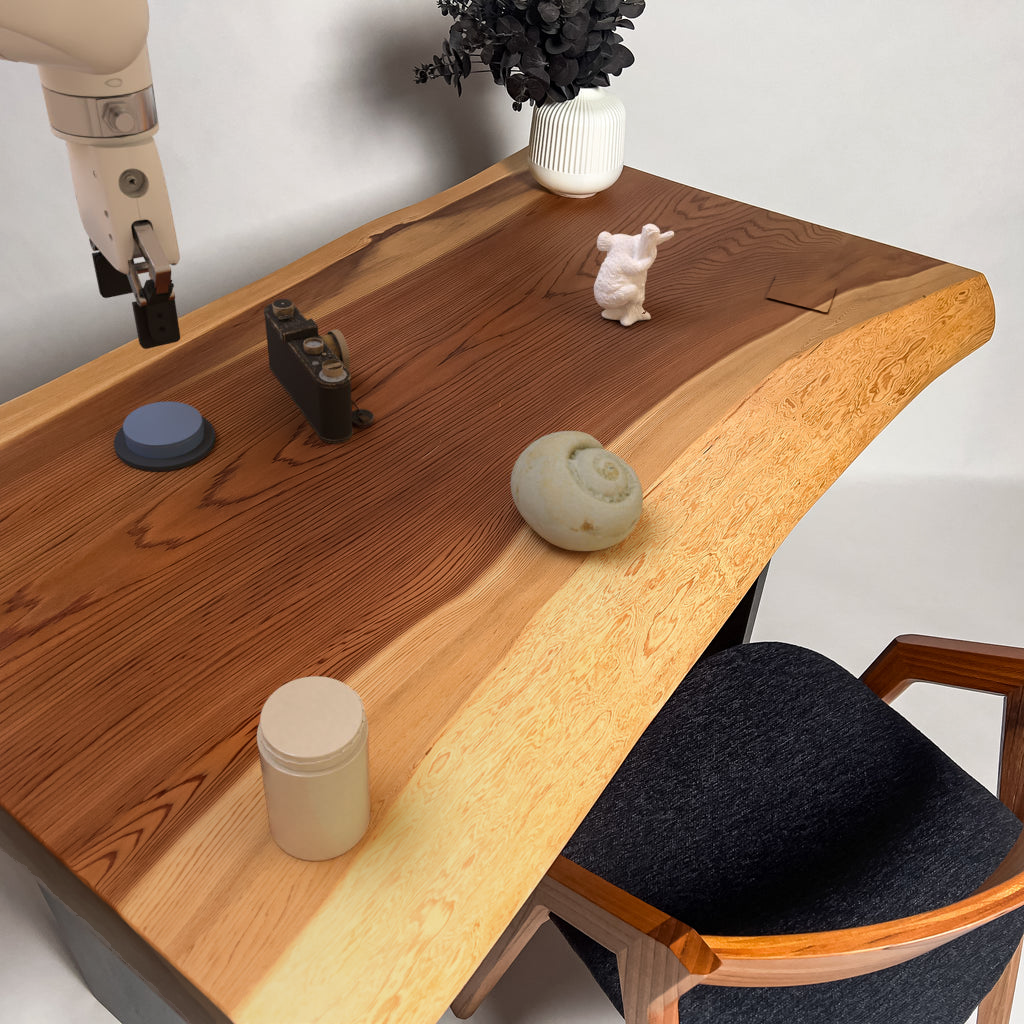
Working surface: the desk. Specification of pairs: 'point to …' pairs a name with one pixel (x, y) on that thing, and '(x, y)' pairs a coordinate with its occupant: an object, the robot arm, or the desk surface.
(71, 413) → the desk surface
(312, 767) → the jar
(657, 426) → the desk surface
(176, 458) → the coaster
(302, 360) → the camera
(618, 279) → the koala figurine
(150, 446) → the jar lid
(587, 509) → the seashell
